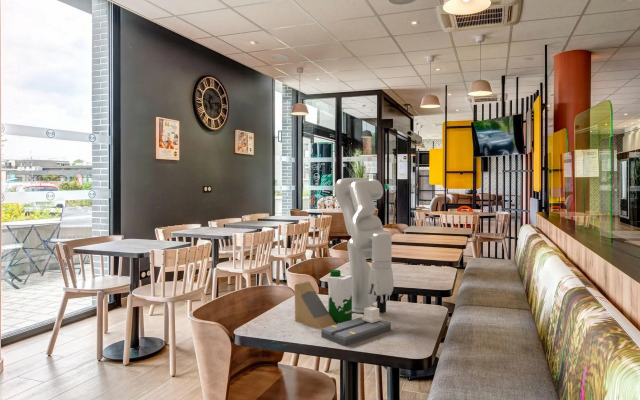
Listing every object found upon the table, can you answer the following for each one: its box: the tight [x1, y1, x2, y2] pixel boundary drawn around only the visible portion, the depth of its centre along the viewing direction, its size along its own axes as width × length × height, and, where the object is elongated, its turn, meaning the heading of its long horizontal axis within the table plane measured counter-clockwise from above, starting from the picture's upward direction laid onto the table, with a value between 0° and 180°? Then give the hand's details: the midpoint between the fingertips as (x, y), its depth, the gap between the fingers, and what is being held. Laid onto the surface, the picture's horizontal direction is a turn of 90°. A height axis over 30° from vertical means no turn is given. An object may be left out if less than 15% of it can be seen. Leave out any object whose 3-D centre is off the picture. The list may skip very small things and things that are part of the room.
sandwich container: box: [294, 281, 337, 330], centre depth 179 cm, size 9×15×15 cm, turn 46°
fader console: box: [320, 315, 392, 347], centre depth 167 cm, size 24×12×3 cm, turn 131°
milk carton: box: [326, 269, 353, 324], centre depth 182 cm, size 9×9×20 cm
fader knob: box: [361, 306, 382, 323], centre depth 172 cm, size 5×5×6 cm
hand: (381, 312), depth 176 cm, fingers closed
